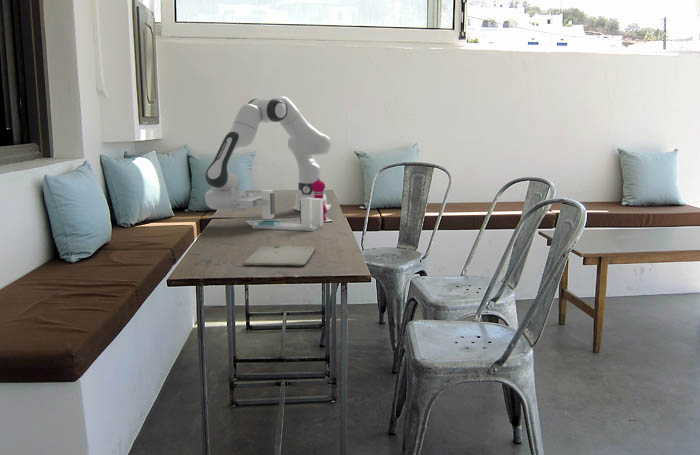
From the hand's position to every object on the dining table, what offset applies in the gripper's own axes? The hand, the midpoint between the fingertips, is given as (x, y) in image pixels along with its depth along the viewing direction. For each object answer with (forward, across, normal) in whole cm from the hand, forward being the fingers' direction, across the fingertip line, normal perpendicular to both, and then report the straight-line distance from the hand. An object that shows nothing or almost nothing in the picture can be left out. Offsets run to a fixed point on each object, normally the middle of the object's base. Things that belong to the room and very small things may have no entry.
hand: (269, 202), depth 271 cm
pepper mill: (+15, +22, +11) cm, 29 cm away
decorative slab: (+26, -52, +12) cm, 59 cm away
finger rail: (+7, 0, +11) cm, 13 cm away
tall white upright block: (-1, 0, +7) cm, 7 cm away
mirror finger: (+19, +8, +11) cm, 24 cm away
